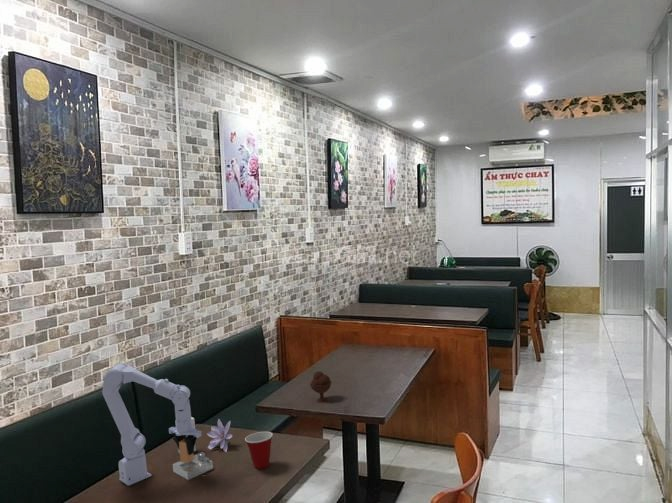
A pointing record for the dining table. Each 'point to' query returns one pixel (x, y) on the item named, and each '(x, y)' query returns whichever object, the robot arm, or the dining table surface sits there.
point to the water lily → (219, 435)
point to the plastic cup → (260, 448)
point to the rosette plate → (193, 466)
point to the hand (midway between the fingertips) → (186, 453)
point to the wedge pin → (185, 452)
